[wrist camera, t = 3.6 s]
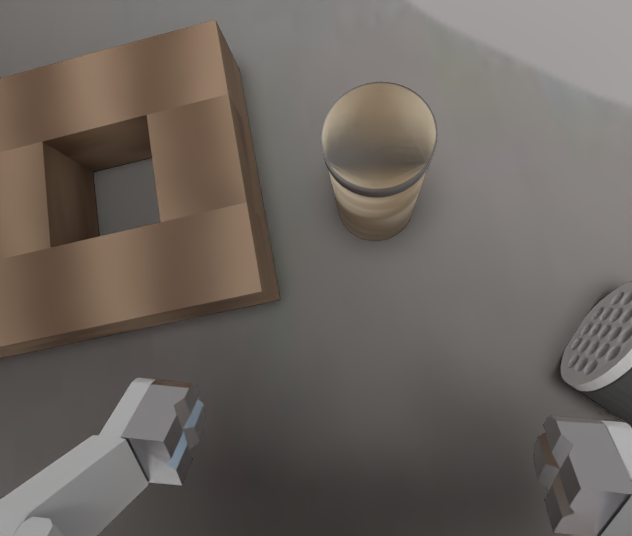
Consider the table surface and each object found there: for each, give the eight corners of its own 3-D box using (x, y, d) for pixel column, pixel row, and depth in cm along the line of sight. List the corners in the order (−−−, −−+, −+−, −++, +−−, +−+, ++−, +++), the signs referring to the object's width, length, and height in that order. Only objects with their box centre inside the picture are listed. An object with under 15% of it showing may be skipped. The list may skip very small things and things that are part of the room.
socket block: (-57, 370, 25) (-137, 375, 21) (-63, 147, 27) (-136, 115, 23) (280, 299, 23) (261, 291, 19) (239, 69, 25) (215, 19, 21)
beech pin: (345, 249, 23) (332, 201, 15) (330, 177, 24) (311, 97, 16) (422, 232, 22) (450, 175, 15) (404, 160, 23) (421, 69, 15)
